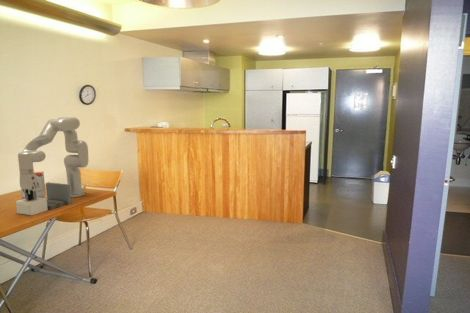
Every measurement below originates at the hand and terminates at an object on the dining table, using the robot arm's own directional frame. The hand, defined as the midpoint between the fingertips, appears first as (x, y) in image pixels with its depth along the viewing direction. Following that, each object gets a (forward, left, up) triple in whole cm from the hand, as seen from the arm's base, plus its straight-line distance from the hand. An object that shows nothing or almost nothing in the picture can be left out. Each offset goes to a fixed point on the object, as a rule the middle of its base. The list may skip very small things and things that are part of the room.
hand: (29, 199), depth 207 cm
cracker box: (-21, -23, -9) cm, 32 cm away
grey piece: (-15, 0, -9) cm, 17 cm away
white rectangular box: (-1, 0, -9) cm, 9 cm away
